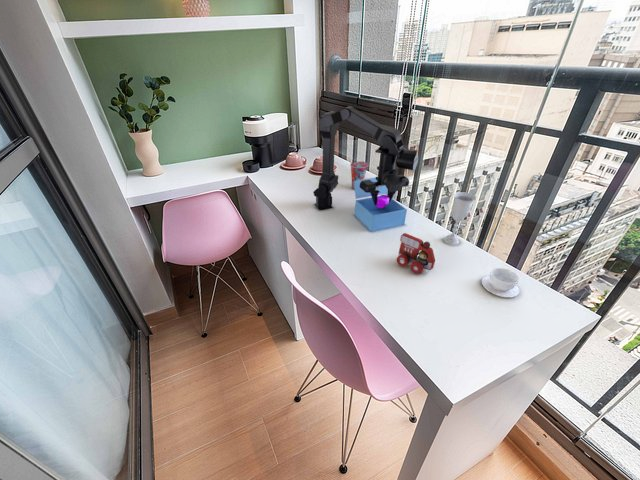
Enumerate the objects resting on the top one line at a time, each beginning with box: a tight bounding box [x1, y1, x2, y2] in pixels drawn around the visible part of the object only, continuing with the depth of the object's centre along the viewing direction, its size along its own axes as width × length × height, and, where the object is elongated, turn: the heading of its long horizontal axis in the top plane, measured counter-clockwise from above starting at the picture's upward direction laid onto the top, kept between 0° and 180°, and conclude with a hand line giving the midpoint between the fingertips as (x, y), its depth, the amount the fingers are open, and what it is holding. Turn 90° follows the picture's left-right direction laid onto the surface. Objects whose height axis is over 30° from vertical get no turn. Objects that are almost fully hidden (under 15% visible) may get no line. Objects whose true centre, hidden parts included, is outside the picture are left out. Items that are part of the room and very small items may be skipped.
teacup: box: [481, 267, 521, 298], centre depth 91 cm, size 10×10×5 cm
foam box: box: [354, 194, 408, 233], centre depth 126 cm, size 15×15×7 cm
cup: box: [350, 161, 369, 190], centre depth 153 cm, size 9×8×12 cm
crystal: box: [375, 194, 389, 208], centre depth 122 cm, size 5×5×5 cm
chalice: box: [443, 191, 477, 246], centre depth 108 cm, size 7×7×18 cm
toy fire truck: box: [396, 232, 436, 275], centre depth 99 cm, size 7×12×10 cm, turn 44°
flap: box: [354, 176, 388, 200], centre depth 128 cm, size 7×15×1 cm
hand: (381, 203), depth 123 cm, fingers closed on crystal, 6 cm apart
